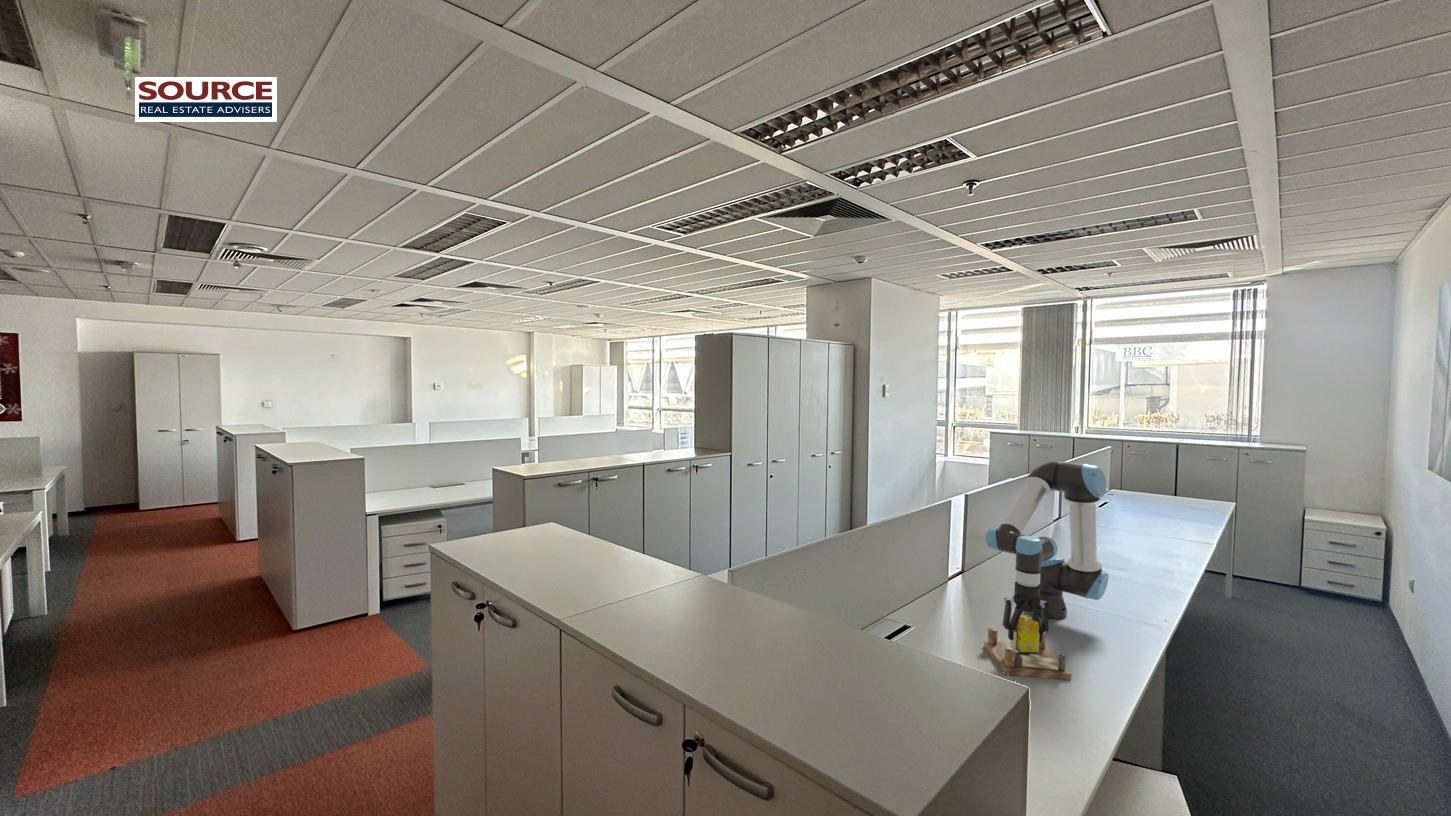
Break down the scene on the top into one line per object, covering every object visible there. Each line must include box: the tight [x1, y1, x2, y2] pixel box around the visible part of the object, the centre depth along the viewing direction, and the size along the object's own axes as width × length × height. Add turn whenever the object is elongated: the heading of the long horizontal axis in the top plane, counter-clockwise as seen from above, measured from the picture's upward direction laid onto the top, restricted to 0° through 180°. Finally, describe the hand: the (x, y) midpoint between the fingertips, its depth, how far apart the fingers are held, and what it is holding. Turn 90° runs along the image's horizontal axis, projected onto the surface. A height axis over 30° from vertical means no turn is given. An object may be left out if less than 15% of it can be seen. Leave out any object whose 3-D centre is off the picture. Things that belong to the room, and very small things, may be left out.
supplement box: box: [1015, 614, 1039, 654], centre depth 191 cm, size 6×6×11 cm
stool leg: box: [1015, 654, 1059, 670], centre depth 183 cm, size 13×3×3 cm, turn 79°
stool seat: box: [983, 627, 1072, 681], centre depth 190 cm, size 20×20×7 cm
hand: (1024, 649), depth 191 cm, fingers closed on supplement box, 6 cm apart
